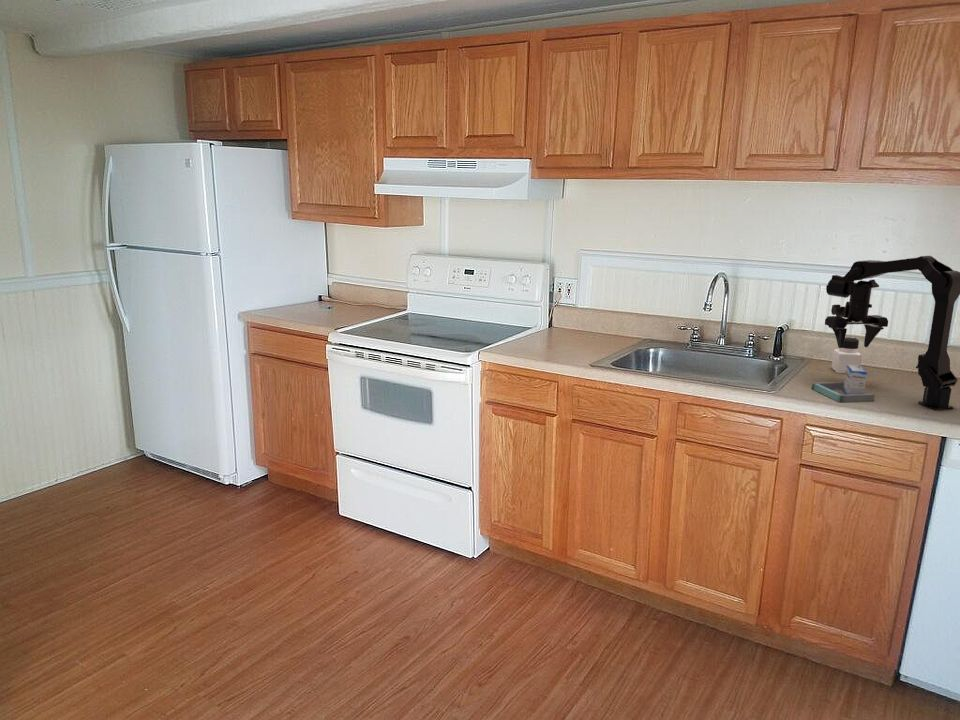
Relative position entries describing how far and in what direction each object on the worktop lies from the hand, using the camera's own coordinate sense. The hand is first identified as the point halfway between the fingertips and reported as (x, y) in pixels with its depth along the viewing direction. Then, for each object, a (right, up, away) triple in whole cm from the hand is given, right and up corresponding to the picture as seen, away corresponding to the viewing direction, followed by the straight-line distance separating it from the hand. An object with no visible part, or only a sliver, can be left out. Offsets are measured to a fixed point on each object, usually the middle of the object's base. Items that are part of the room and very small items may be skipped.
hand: (852, 347), depth 231 cm
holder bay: (-8, -15, -9) cm, 19 cm away
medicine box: (-5, -15, -9) cm, 18 cm away
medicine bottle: (+7, -8, +18) cm, 21 cm away
